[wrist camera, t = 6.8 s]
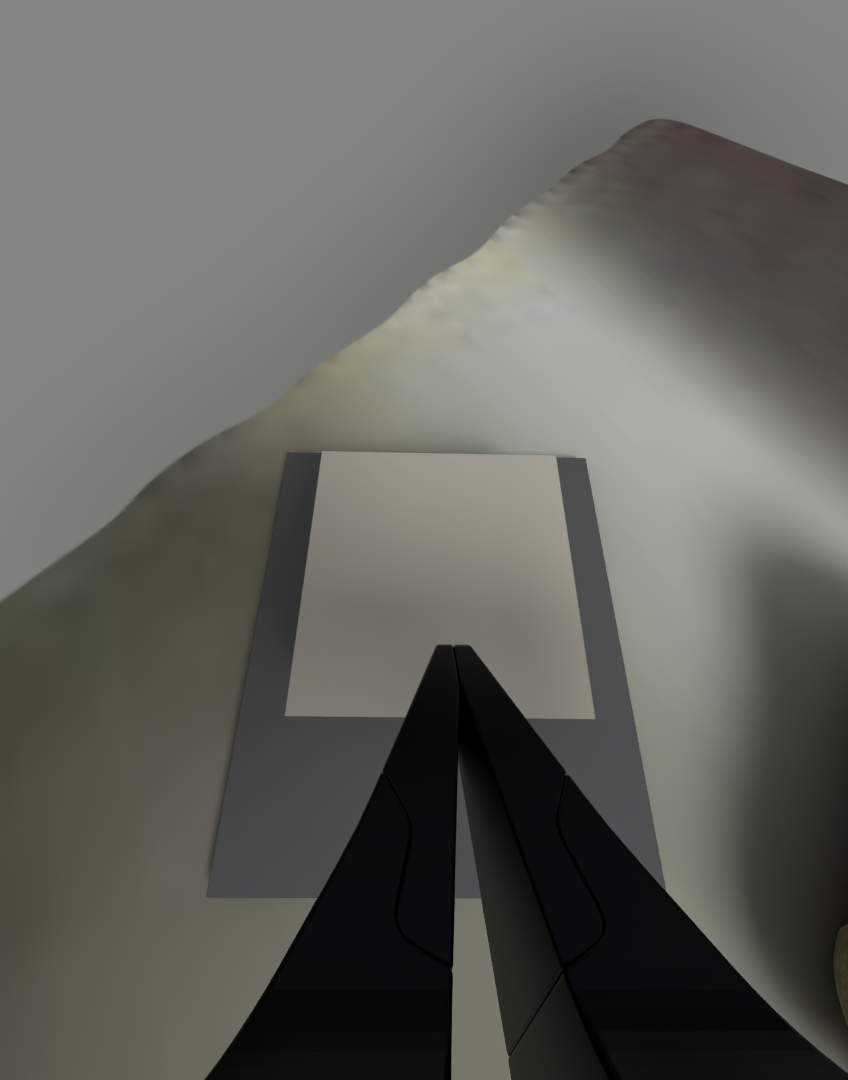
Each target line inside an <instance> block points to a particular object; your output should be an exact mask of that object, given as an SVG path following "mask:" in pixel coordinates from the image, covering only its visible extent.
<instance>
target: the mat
mask: <svg viewBox="0 0 848 1080" xmlns="http://www.w3.org/2000/svg"><path fill="white" fill-rule="evenodd" d="M321 455H322V453H287V458H286V464H285V469H284V474H283V480H282V485H281V491H280V496H279V502H278V507H277V513H276V518H275V524H274V529H273V534H272V540H271V545H270V551H269V556H268V562H267V567H266V573H265V578H264V584H263V589H262V594H261V600H260V605H259V611H258V616H257V622H256V627H255V633H254V638H253V643H252V649H251V654H250V660H249V665H248V671H247V676H246V682H245V687H244V693H243V698H242V703H241V709H240V714H239V720H238V725H237V731H236V736H235V742H234V747H233V753H232V758H231V763H230V769H229V774H228V780H227V785H226V791H225V796H224V802H223V807H222V813H221V818H220V823H219V829H218V834H217V840H216V845H215V851H214V856H213V862H212V867H211V872H210V878H209V883H208V889H207V894H206V897H225V898H318V896H319V894H320V893H321V891H322V889H323V887H324V886H325V884H326V882H327V880H328V879H329V877H330V875H331V873H332V871H333V870H334V868H335V866H336V864H337V863H338V861H339V859H340V857H341V855H342V853H343V851H344V849H345V847H346V846H347V844H348V842H349V840H350V838H351V836H352V834H353V832H354V830H355V828H356V827H357V825H358V822H359V820H360V818H361V816H362V814H363V812H364V810H365V807H366V805H367V803H368V801H369V799H370V797H371V795H372V792H373V790H374V788H375V785H376V783H377V781H378V778H379V776H380V774H381V773H383V772H382V770H383V767H384V765H385V763H386V760H387V758H388V756H389V754H390V751H391V749H392V747H393V744H394V742H395V740H396V737H397V735H398V733H399V730H400V728H401V726H402V723H403V721H404V719H405V717H324V716H285V711H286V704H287V697H288V690H289V682H290V675H291V668H292V661H293V654H294V647H295V640H296V633H297V626H298V618H299V611H300V604H301V597H302V590H303V583H304V576H305V569H306V562H307V554H308V547H309V540H310V533H311V526H312V519H313V512H314V505H315V498H316V490H317V483H318V476H319V469H320V462H321ZM556 460H557V467H558V473H559V480H560V487H561V493H562V500H563V507H564V513H565V520H566V526H567V533H568V540H569V546H570V553H571V560H572V566H573V573H574V580H575V586H576V593H577V600H578V606H579V613H580V620H581V626H582V633H583V640H584V646H585V653H586V660H587V666H588V673H589V679H590V686H591V693H592V699H593V706H594V713H595V719H530V718H526V719H527V720H528V722H529V723H530V724H531V726H532V727H533V728H534V730H535V731H536V732H537V733H538V735H539V736H540V737H541V739H542V740H543V741H544V743H545V744H546V745H547V747H548V748H549V749H550V751H551V752H552V753H553V754H554V756H555V757H556V758H557V760H558V761H559V762H560V764H561V765H562V766H563V768H564V769H565V770H566V775H570V777H571V778H572V779H573V781H574V782H575V783H576V785H577V786H578V787H579V789H580V790H581V791H582V793H583V794H584V795H585V796H586V798H587V799H588V800H589V801H590V803H591V804H592V805H593V806H594V808H595V809H596V810H597V811H598V813H599V814H600V815H601V817H602V818H603V819H604V820H605V822H606V823H607V824H608V825H609V827H610V828H611V829H612V830H613V831H614V832H615V834H616V835H617V836H618V837H619V838H620V839H621V841H622V842H623V843H624V844H625V845H626V846H627V848H628V849H629V850H630V851H631V852H632V853H633V854H634V856H635V857H636V858H637V859H638V860H639V861H640V863H641V864H642V865H643V866H644V867H645V868H646V869H647V870H648V872H649V873H650V874H651V875H652V876H653V877H654V878H655V879H656V881H657V882H658V883H659V884H660V885H661V886H662V887H663V888H664V890H665V891H666V888H665V883H664V877H663V872H662V867H661V861H660V856H659V851H658V845H657V840H656V834H655V829H654V824H653V818H652V813H651V808H650V802H649V797H648V792H647V786H646V781H645V775H644V770H643V765H642V759H641V754H640V749H639V743H638V738H637V733H636V727H635V722H634V716H633V711H632V706H631V700H630V695H629V690H628V684H627V679H626V673H625V668H624V663H623V657H622V652H621V647H620V641H619V636H618V631H617V625H616V620H615V614H614V609H613V604H612V598H611V593H610V588H609V582H608V577H607V572H606V566H605V561H604V555H603V550H602V545H601V539H600V534H599V529H598V523H597V518H596V513H595V507H594V502H593V496H592V491H591V486H590V480H589V475H588V470H587V464H586V459H585V458H556ZM455 898H481V894H480V888H479V882H478V876H477V870H476V864H475V858H474V852H473V846H472V840H471V834H470V828H469V822H468V816H467V810H466V804H465V798H464V792H463V786H462V780H461V774H460V768H459V762H458V787H457V827H456V866H455Z"/></svg>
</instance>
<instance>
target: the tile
mask: <svg viewBox="0 0 848 1080" xmlns="http://www.w3.org/2000/svg"><path fill="white" fill-rule="evenodd" d="M438 644H451V645H452V646H453V647H454V645H470V646H471V647H472V648H473V649H474V651H475V652H476V653H477V655H478V656H479V657H480V659H481V660H482V661H483V662H484V664H485V665H486V666H487V668H488V669H489V670H490V672H491V673H492V674H493V676H494V677H495V678H496V680H497V681H498V682H499V683H500V685H501V686H502V687H503V689H504V690H505V691H506V693H507V694H508V695H509V697H510V698H511V699H512V701H513V702H514V703H515V705H516V706H517V707H518V708H519V710H520V711H521V712H522V714H523V715H524V716H525V718H530V719H595V713H594V706H593V699H592V693H591V686H590V679H589V673H588V666H587V660H586V653H585V646H584V640H583V633H582V626H581V620H580V613H579V606H578V600H577V593H576V586H575V580H574V573H573V566H572V560H571V553H570V546H569V540H568V533H567V526H566V520H565V513H564V507H563V500H562V493H561V487H560V480H559V473H558V467H557V460H556V456H547V455H496V454H445V453H393V452H342V451H322V455H321V462H320V469H319V476H318V483H317V490H316V498H315V505H314V512H313V519H312V526H311V533H310V540H309V547H308V554H307V562H306V569H305V576H304V583H303V590H302V597H301V604H300V611H299V618H298V626H297V633H296V640H295V647H294V654H293V661H292V668H291V675H290V682H289V690H288V697H287V704H286V711H285V716H324V717H405V716H406V714H407V712H408V710H409V707H410V705H411V703H412V700H413V698H414V696H415V693H416V691H417V689H418V686H419V684H420V682H421V679H422V677H423V675H424V672H425V670H426V668H427V665H428V663H429V661H430V659H431V656H432V654H433V652H434V649H435V647H436V646H437V645H438Z"/></svg>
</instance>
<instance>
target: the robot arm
mask: <svg viewBox="0 0 848 1080" xmlns="http://www.w3.org/2000/svg"><path fill="white" fill-rule="evenodd" d="M458 762H459V768H460V774H461V780H462V786H463V792H464V798H465V804H466V810H467V816H468V822H469V828H470V834H471V840H472V846H473V852H474V858H475V864H476V870H477V876H478V882H479V888H480V894H481V900H482V906H483V912H484V918H485V924H486V930H487V936H488V942H489V947H490V953H491V959H492V965H493V971H494V977H495V983H496V989H497V995H498V1001H499V1007H500V1013H501V1019H502V1025H503V1031H504V1037H505V1043H506V1049H507V1054H508V1055H509V1056H510V1057H509V1060H508V1061H509V1068H510V1074H511V1079H512V1080H848V1073H846V1072H845V1071H844V1070H843V1069H841V1068H840V1067H839V1066H838V1065H836V1064H835V1063H834V1062H833V1061H831V1060H830V1059H829V1058H828V1057H826V1056H825V1055H824V1054H823V1053H822V1052H820V1051H819V1050H818V1049H817V1048H816V1047H815V1046H813V1045H812V1044H811V1043H810V1042H809V1041H808V1040H807V1039H805V1038H804V1037H803V1036H802V1035H801V1034H800V1033H798V1032H797V1031H796V1030H795V1029H794V1028H793V1027H792V1026H791V1025H790V1024H789V1023H788V1022H787V1021H786V1020H785V1019H783V1018H782V1017H781V1016H780V1015H779V1014H778V1013H777V1012H776V1011H775V1010H774V1009H773V1008H772V1007H771V1006H770V1005H769V1004H768V1003H767V1002H766V1001H765V1000H764V999H763V998H762V997H761V996H760V995H759V994H758V993H757V992H756V991H755V990H754V989H753V988H752V987H751V986H750V985H749V984H748V982H747V981H746V980H745V979H744V978H743V977H742V976H741V975H740V974H739V973H738V972H737V970H736V969H735V968H734V967H733V966H732V965H731V964H730V963H729V962H728V960H727V959H726V958H725V957H724V956H723V955H722V954H721V953H720V951H719V950H718V949H717V948H716V947H715V946H714V945H713V944H712V942H711V941H710V940H709V939H708V938H707V937H706V936H705V935H704V933H703V932H702V931H701V930H700V929H699V928H698V927H697V926H696V924H695V923H694V922H693V921H692V920H691V919H690V918H689V917H688V915H687V914H686V913H685V912H684V911H683V910H682V909H681V908H680V906H679V905H678V904H677V903H676V902H675V901H674V900H673V899H672V897H671V896H670V895H669V894H668V893H667V892H666V891H665V890H664V888H663V887H662V886H661V885H660V884H659V883H658V882H657V881H656V879H655V878H654V877H653V876H652V875H651V874H650V873H649V872H648V870H647V869H646V868H645V867H644V866H643V865H642V864H641V863H640V861H639V860H638V859H637V858H636V857H635V856H634V854H633V853H632V852H631V851H630V850H629V849H628V848H627V846H626V845H625V844H624V843H623V842H622V841H621V839H620V838H619V837H618V836H617V835H616V834H615V832H614V831H613V830H612V829H611V828H610V827H609V825H608V824H607V823H606V822H605V820H604V819H603V818H602V817H601V815H600V814H599V813H598V811H597V810H596V809H595V808H594V806H593V805H592V804H591V803H590V801H589V800H588V799H587V798H586V796H585V795H584V794H583V793H582V791H581V790H580V789H579V787H578V786H577V785H576V783H575V782H574V781H573V779H572V778H571V777H570V775H566V770H565V769H564V768H563V766H562V765H561V764H560V762H559V761H558V760H557V758H556V757H555V756H554V754H553V753H552V752H551V751H550V749H549V748H548V747H547V745H546V744H545V743H544V741H543V740H542V739H541V737H540V736H539V735H538V733H537V732H536V731H535V730H534V728H533V727H532V726H531V724H530V723H529V722H528V720H527V719H526V718H525V716H524V715H523V714H522V712H521V711H520V710H519V708H518V707H517V706H516V705H515V703H514V702H513V701H512V699H511V698H510V697H509V695H508V694H507V693H506V691H505V690H504V689H503V687H502V686H501V685H500V683H499V682H498V681H497V680H496V678H495V677H494V676H493V674H492V673H491V672H490V670H489V669H488V668H487V666H486V665H485V664H484V662H483V661H482V660H481V659H480V657H479V656H478V655H477V653H476V652H475V651H474V649H473V648H472V647H471V646H470V645H454V647H453V646H452V645H451V644H438V645H437V646H436V647H435V649H434V652H433V654H432V656H431V659H430V661H429V663H428V665H427V668H426V670H425V672H424V675H423V677H422V679H421V682H420V684H419V686H418V689H417V691H416V693H415V696H414V698H413V700H412V703H411V705H410V707H409V710H408V712H407V714H406V716H405V719H404V721H403V723H402V726H401V728H400V730H399V733H398V735H397V737H396V740H395V742H394V744H393V747H392V749H391V751H390V754H389V756H388V758H387V760H386V763H385V765H384V767H383V770H382V772H383V773H381V774H380V776H379V778H378V781H377V783H376V785H375V788H374V790H373V792H372V795H371V797H370V799H369V801H368V803H367V805H366V807H365V810H364V812H363V814H362V816H361V818H360V820H359V822H358V825H357V827H356V828H355V830H354V832H353V834H352V836H351V838H350V840H349V842H348V844H347V846H346V847H345V849H344V851H343V853H342V855H341V857H340V859H339V861H338V863H337V864H336V866H335V868H334V870H333V871H332V873H331V875H330V877H329V879H328V880H327V882H326V884H325V886H324V887H323V889H322V891H321V893H320V894H319V896H318V898H317V900H316V902H315V903H314V905H313V907H312V909H311V910H310V912H309V914H308V916H307V918H306V919H305V921H304V923H303V925H302V926H301V928H300V930H299V932H298V934H297V935H296V937H295V939H294V941H293V942H292V944H291V946H290V948H289V949H288V951H287V953H286V955H285V957H284V958H283V960H282V962H281V964H280V965H279V967H278V969H277V971H276V972H275V974H274V976H273V977H272V979H271V981H270V983H269V984H268V986H267V988H266V989H265V991H264V993H263V994H262V996H261V997H260V999H259V1001H258V1002H257V1004H256V1006H255V1007H254V1009H253V1011H252V1012H251V1014H250V1015H249V1017H248V1018H247V1020H246V1021H245V1023H244V1024H243V1026H242V1028H241V1029H240V1031H239V1032H238V1034H237V1035H236V1037H235V1038H234V1040H233V1041H232V1043H231V1044H230V1045H229V1047H228V1048H227V1050H226V1051H225V1053H224V1054H223V1056H222V1057H221V1058H220V1060H219V1061H218V1062H217V1064H216V1065H215V1066H214V1068H213V1069H212V1070H211V1072H210V1073H209V1074H208V1076H207V1077H206V1078H205V1080H451V1043H452V985H453V974H452V967H453V945H454V906H455V866H456V827H457V787H458Z"/></svg>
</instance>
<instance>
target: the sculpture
mask: <svg viewBox="0 0 848 1080" xmlns="http://www.w3.org/2000/svg"><path fill="white" fill-rule="evenodd" d="M833 964H834V978H835V984H836V989H837V994H838V997H839V1001H840V1004H841V1007H842V1011H843V1014H844V1017H845V1021H846V1024H847V1027H848V924H846V925H845V926H843V927H841V928H840V929H839V932H838V936H837V939H836V943H835V949H834V955H833Z"/></svg>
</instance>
